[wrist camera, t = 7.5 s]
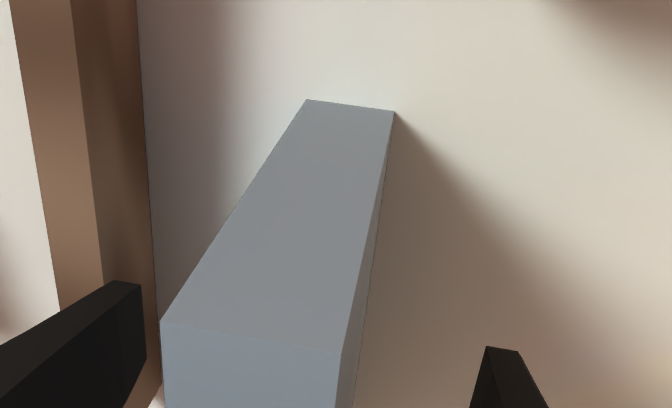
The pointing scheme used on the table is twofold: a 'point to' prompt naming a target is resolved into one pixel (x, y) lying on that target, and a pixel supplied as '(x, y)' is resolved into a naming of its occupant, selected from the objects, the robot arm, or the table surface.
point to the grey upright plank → (286, 274)
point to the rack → (91, 152)
